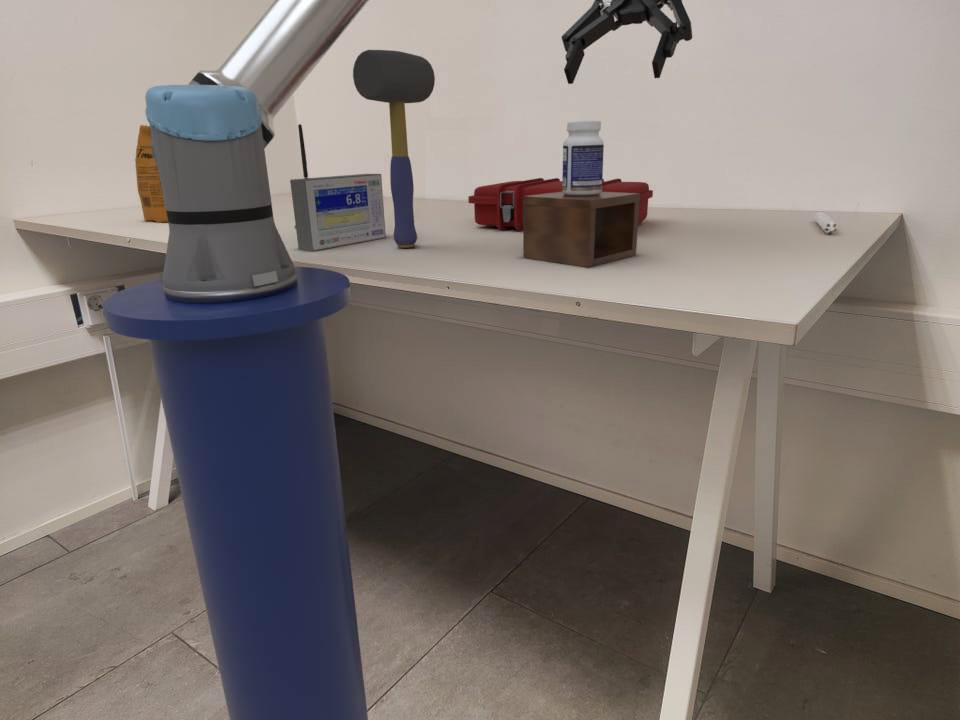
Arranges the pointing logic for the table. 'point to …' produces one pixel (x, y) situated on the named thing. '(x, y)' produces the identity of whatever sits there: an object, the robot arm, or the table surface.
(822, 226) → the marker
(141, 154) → the coffee package
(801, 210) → the table surface
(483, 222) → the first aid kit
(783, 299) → the table surface
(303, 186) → the electronic device
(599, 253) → the shelf
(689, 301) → the table surface
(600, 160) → the pill bottle
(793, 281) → the table surface
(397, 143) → the rubber mallet
